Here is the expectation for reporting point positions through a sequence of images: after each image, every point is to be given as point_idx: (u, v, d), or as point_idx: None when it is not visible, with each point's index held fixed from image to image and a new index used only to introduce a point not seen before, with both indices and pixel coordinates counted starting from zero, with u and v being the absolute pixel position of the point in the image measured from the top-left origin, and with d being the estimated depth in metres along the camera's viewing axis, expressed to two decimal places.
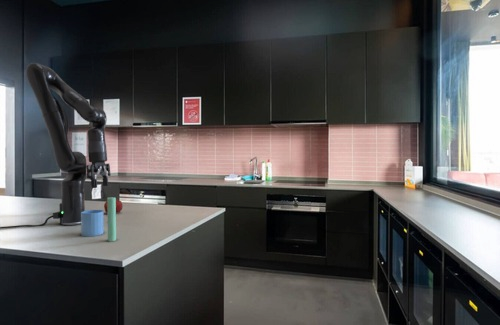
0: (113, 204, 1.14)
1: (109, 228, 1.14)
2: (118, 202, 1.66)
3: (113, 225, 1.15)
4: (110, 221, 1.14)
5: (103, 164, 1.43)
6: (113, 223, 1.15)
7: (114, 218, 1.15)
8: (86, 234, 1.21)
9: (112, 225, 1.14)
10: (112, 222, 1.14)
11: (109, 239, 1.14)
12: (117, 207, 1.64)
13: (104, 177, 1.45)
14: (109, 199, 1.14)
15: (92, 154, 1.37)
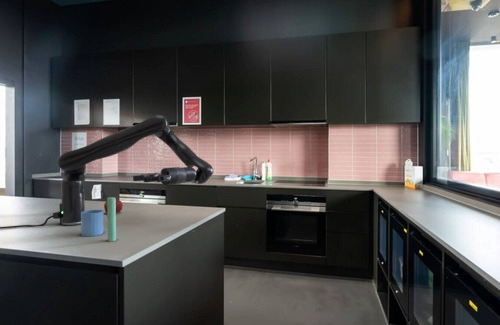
0: (113, 204, 1.14)
1: (109, 228, 1.14)
2: (118, 202, 1.66)
3: (113, 225, 1.15)
4: (110, 221, 1.14)
5: None
6: (113, 223, 1.15)
7: (114, 218, 1.15)
8: (86, 234, 1.21)
9: (112, 225, 1.14)
10: (112, 222, 1.14)
11: (109, 239, 1.14)
12: (117, 207, 1.64)
13: (142, 177, 1.29)
14: (109, 199, 1.14)
15: (175, 176, 1.31)
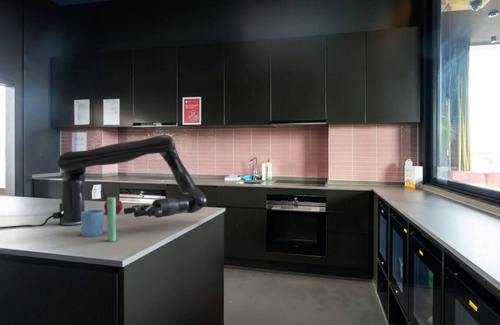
0: (113, 204, 1.14)
1: (109, 228, 1.14)
2: (118, 202, 1.66)
3: (113, 225, 1.15)
4: (110, 221, 1.14)
5: None
6: (113, 223, 1.15)
7: (114, 218, 1.15)
8: (86, 234, 1.21)
9: (112, 225, 1.14)
10: (112, 222, 1.14)
11: (109, 239, 1.14)
12: (117, 207, 1.64)
13: (134, 209, 1.26)
14: (109, 199, 1.14)
15: (167, 208, 1.29)
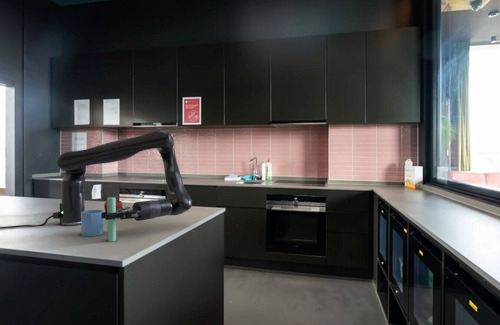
0: (113, 204, 1.14)
1: (109, 228, 1.14)
2: (118, 202, 1.66)
3: (113, 225, 1.15)
4: (110, 221, 1.14)
5: None
6: (113, 223, 1.15)
7: None
8: (86, 234, 1.21)
9: (112, 225, 1.14)
10: (111, 222, 1.14)
11: (109, 239, 1.14)
12: (117, 207, 1.64)
13: None
14: (109, 199, 1.14)
15: (148, 211, 1.22)
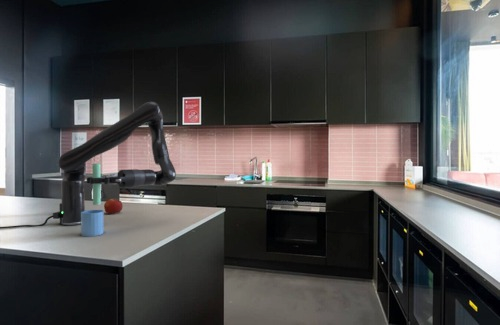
0: (98, 169, 1.21)
1: (94, 192, 1.21)
2: (118, 202, 1.66)
3: (98, 189, 1.21)
4: (95, 186, 1.20)
5: None
6: (98, 187, 1.21)
7: (99, 183, 1.21)
8: (86, 234, 1.21)
9: (97, 189, 1.21)
10: (96, 186, 1.21)
11: (94, 202, 1.21)
12: (117, 207, 1.64)
13: None
14: (94, 164, 1.20)
15: (132, 178, 1.29)
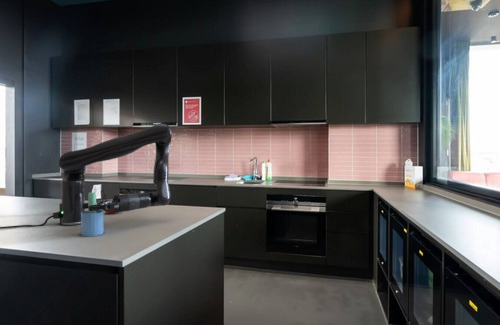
0: (93, 199, 1.24)
1: None
2: None
3: None
4: None
5: None
6: None
7: (94, 211, 1.24)
8: (86, 234, 1.21)
9: None
10: None
11: None
12: None
13: None
14: (90, 194, 1.23)
15: (127, 203, 1.32)
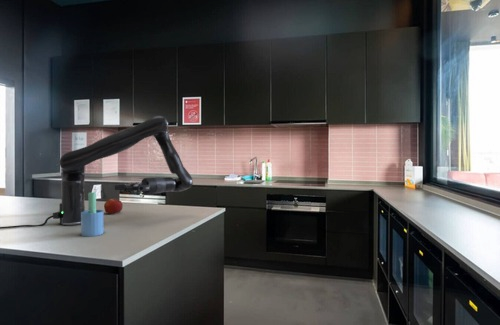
0: (93, 199, 1.24)
1: None
2: (118, 202, 1.66)
3: None
4: None
5: None
6: None
7: (94, 211, 1.24)
8: (86, 234, 1.21)
9: None
10: None
11: None
12: (117, 207, 1.64)
13: (124, 186, 1.38)
14: (90, 194, 1.23)
15: (155, 186, 1.41)
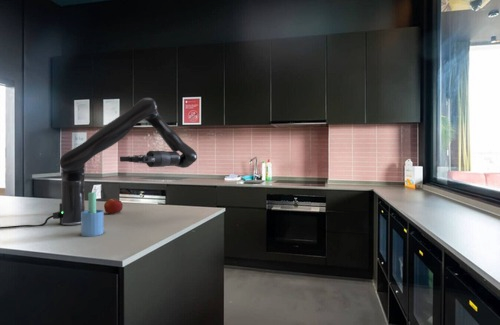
0: (93, 199, 1.24)
1: None
2: (118, 202, 1.66)
3: None
4: None
5: None
6: None
7: (94, 211, 1.24)
8: (86, 234, 1.21)
9: None
10: None
11: None
12: (117, 207, 1.64)
13: (129, 158, 1.38)
14: (90, 194, 1.23)
15: (160, 158, 1.41)
